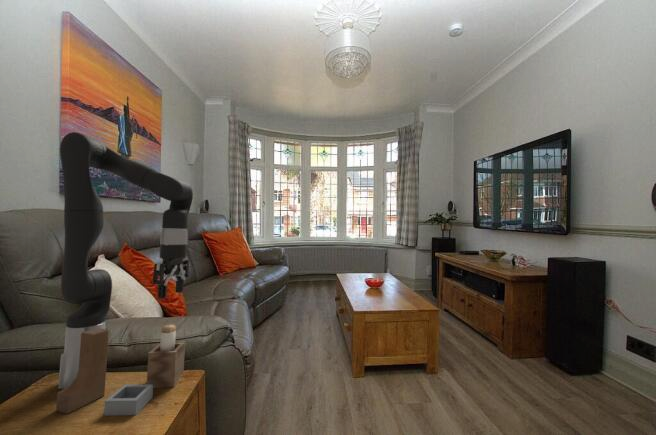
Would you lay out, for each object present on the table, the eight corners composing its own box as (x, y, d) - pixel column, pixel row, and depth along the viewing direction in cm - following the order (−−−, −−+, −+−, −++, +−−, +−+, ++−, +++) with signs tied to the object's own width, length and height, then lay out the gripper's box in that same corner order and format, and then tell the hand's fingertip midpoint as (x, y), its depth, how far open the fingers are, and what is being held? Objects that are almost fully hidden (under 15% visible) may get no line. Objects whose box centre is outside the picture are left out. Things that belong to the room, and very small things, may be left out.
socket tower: (146, 388, 83) (148, 353, 84) (158, 375, 91) (159, 343, 91) (174, 386, 84) (175, 352, 85) (183, 374, 92) (185, 342, 92)
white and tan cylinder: (158, 359, 85) (160, 328, 86) (160, 354, 89) (162, 324, 89) (173, 357, 87) (175, 327, 87) (175, 352, 90) (176, 323, 91)
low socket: (103, 415, 71) (104, 400, 71) (123, 397, 78) (124, 384, 78) (135, 414, 71) (136, 400, 71) (152, 397, 79) (153, 384, 79)
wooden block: (67, 414, 71) (72, 340, 72) (55, 411, 72) (60, 338, 73) (105, 395, 79) (109, 329, 80) (93, 392, 80) (98, 327, 82)
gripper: (176, 242, 97) (173, 290, 96) (146, 243, 83) (143, 299, 82) (197, 242, 96) (195, 291, 96) (171, 244, 82) (167, 301, 81)
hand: (171, 295), depth 89 cm, fingers open, 8 cm apart
